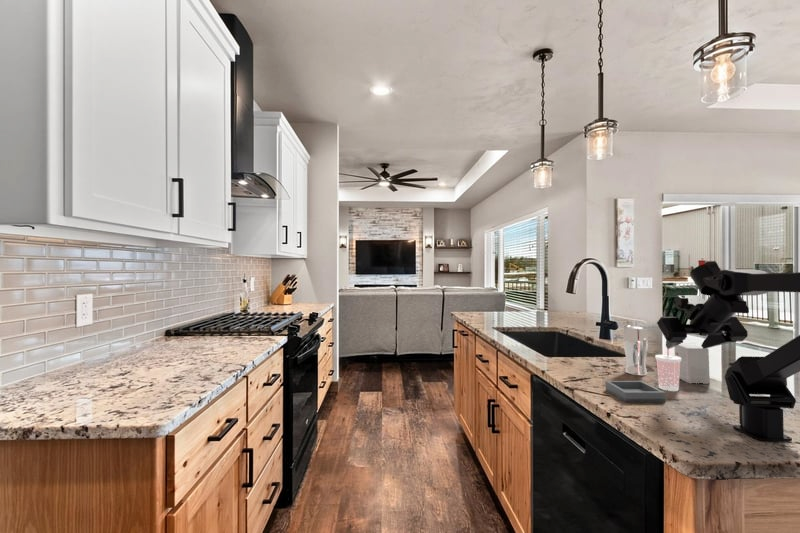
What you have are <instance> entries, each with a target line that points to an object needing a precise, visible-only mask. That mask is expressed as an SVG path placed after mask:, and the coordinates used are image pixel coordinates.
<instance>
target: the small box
mask: <svg viewBox="0 0 800 533" xmlns="http://www.w3.org/2000/svg"><path fill="white" fill-rule="evenodd" d="M673 348H674V349H673V350H674V356H678V357H680V358H681V362H680V376H679V380H682V381H684V382H685V383H687V384H692V383H696V385H700V384H699V383H703V384H704V385H710V384H711V383H710V382H711V381H710V380H711V379H710V355H709V353H710V351H709V348H705V349H703V347H702V346H701V345H698V344H696V343H684V342H683V343H681V344H679V345H677V346H675V347H673ZM697 383H698V384H697ZM703 384H702V385H703Z"/></svg>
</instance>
